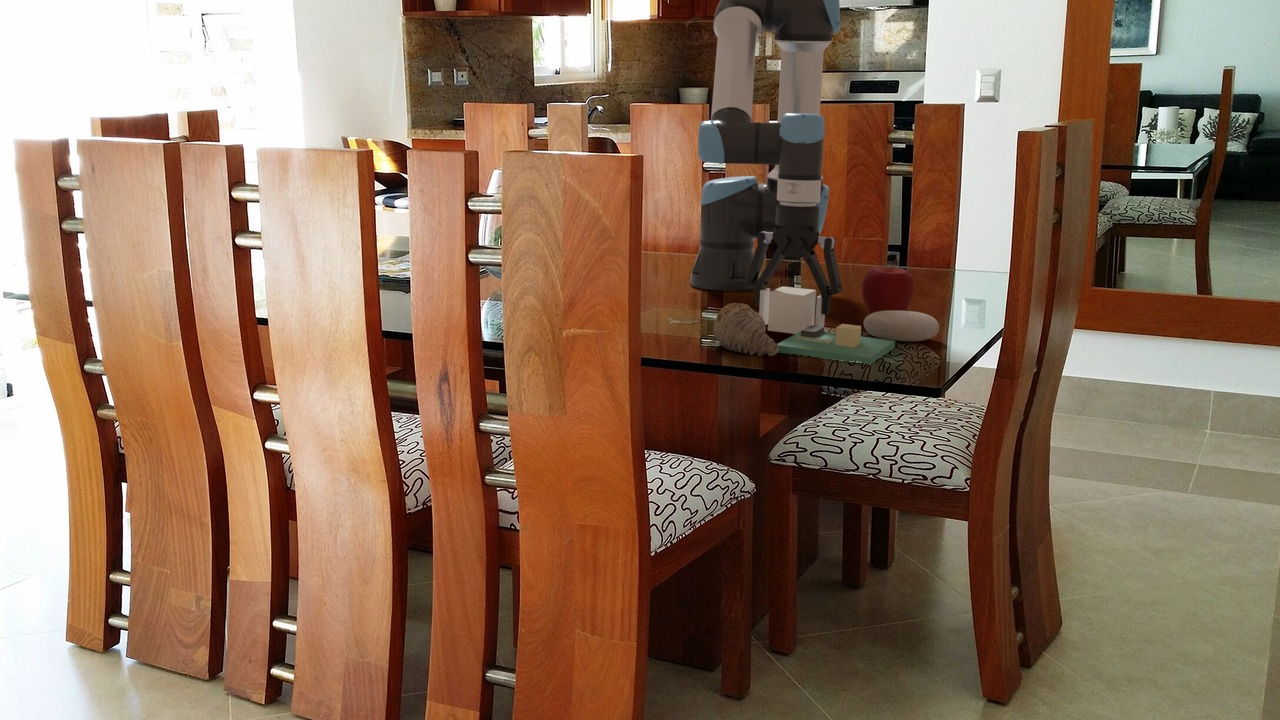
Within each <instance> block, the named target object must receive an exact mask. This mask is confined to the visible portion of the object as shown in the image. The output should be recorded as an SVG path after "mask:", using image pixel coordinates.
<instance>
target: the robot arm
mask: <svg viewBox="0 0 1280 720" xmlns="http://www.w3.org/2000/svg"><path fill="white" fill-rule="evenodd" d="M840 5H841V3H840V0H719V2H718V5H717V6H716V8H715V13H714V17H713V31H714V35H715V36H716V37H717V40H716V41H717V42H716V54H715V55H716V56H715V66H714V67H715V68H714V81H713V92H712V102H711V114H710V115H711V116H710V119H709V120H703V121H701V122H700V123H699V125H698V136H697V154H698V155H697V156H698V159H699V160H700V161H701V162H703V163H709V164H710V163H711V164H719V165H723V164H729V165H730V164H732V165H733V164H734V165H735V164H736V165H744V164H745V165H749V164H750V165H765V166H769V165H771V166H774V168H773V169H772V170H771V171H770V172H769V173H768V174H767V180H766V181H767V182H766V183H758V182H759V181H758V179H757V177H756V176H754V175H749V176H748V175H746V176H745V175H743V176H730V177H722V178H717V179H716V178H715V179H712V180H709V181H707V182H705V183H704V184H703V186H702V189H701V200H700V202H699V204H700V206H701V209H700V210H701V211H700V226H699V227H700V232H699V249H698V252H697V256H696V258H695V262H694V265H693V266H692V270H691V272H690V279H689V281H690V286H692V287H694V288H698V289H704V290H710V291H719V292H722V291H723V292H725V291H726V292H739V291H740V292H741V291H742V292H743V291H751V290H755V292H754V293H755V294H754V295H755V297H754V305H755V307H758V308H759V309H758V310H759V311H758V313H759V314H760V316H761V317H762V319H763V320H764V322H765V325H768V313H769V294H770V291H771V288H766V287H767V285H768V283H769V281H770V280H771V278H772V277H773V276H774V273H775V272H776V270H777V269H778V268H779V265H780V264H781V262H782V261H783V259H785V257H787V258H788V257H794V258H797V259H798V258H799V259H803V261H804V262H805V263H806V265H807V266H808V269H809V270H810V273H811V275H812V277H813V279H814V281H815V284H816V286H817V288H818V290H819V293H820V295H816V303H815V319H814V326H821V327H824V328H825V319H826V316H825V315H828V314H830V312H831V305H832V304H831V303H832V296H833V295H837V294H839V293H842V292H843V285H842V280H841V276H840V270H839V265H838V261H837V257H836V252H835V247H836V238H835V237H834V236H829V237H827V236H821V233H822V231H823V227H824V223H825V219H826V214H827V210H828V204H829V196H830V188H829V186H828V185H826V184H823V182H824V176H823V175H822V170H823V169H822V167H823V158H824V156H823V154H824V141H825V140H824V139H825V135H826V132H825V131H826V130H825V117H824V116H823V115H822V114H821V98H822V84H823V83H822V81H823V68H824V66H823V65H824V52H825V49H827V48H828V47H829V46H830V45H831V44H832V42H833V34H837V33H840V31H841V8H840V7H841V6H840ZM762 32H773V33H774V34H773V35H774V40H773V41H774V43H776V45H777V46H778V48H779V49H780V68H779V72H780V73H779V88H778V102H777V103H778V107H777V122H760V121H757V122H756V121H755V122H754V121H753V120H752V117H753V101H754V99H753V98H754V83H755V81H754V80H755V65H756V63H755V62H756V50H757V49H756V46H757V39H758V38H759V37H760V35H761V34H762ZM755 239H757V240H756V241H757V246H756V248H755V247H754V246H755V245H754V244H755ZM772 240H773V241H774V243H775V245H776V246H777V248H776V249H775V251H774V252H773V253H772V254H773V255H772V257H771V259H770V260H769V262H768V263H767V265H766V267H764V270H763V271H762V273H761V274H760V272H761V270H762V267H763V264H764V262H765V261H764V260H765V258H766V255H767V252H768V248H769V244H771V243H772ZM818 244H819V245H820V248H821V249H822V250H823V251H822V252H823V257H824V258H823V259H824V262H825V267H826V268H825V269H826V273H827V277H826V274H825V272H824V271H823V268H822V266H821V263H820V261H819V259H818V255H817V252H816V251H815V248H816V247H817V245H818ZM754 248H755V251H754ZM827 278H828V279H827Z"/></svg>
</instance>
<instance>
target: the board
mask: <svg viewBox="0 0 1280 720" xmlns="http://www.w3.org/2000/svg"><path fill="white" fill-rule="evenodd" d="M861 333H862V326H861V325H856V324H849V323H848V324H847V323H846V324H845V323H842V324H839V325H837V326H836V330H835V332H827V331H825V326H824V327H821V326H815V325H814V326H813V325H811V326H809V327H807V328H805V329H803V330H801V332H799V333H797V334H792V335H791V336H789V337H787V338H786V339H784V340H781V341H780V342H778V343H777V344H778V345H779V350H778V352H777V353H778V354H779V353H780V354H786V355H787V354H788V355H793V354H796V355H795V356H800V355H803V356H802V357H807V356H811V357H810V358H815V357H821V358H820V359H822V358H828V359H827V360H829V359H837V360H844V361H859V362H862V363H865V364H868V365H867V366H871V365H872V363H873V364H874V363H875V362H877V361H878V360H879V358H880V357H881V358H883V357H884V356H886V354H888V353H889V352H891V351H892V350H893V349H895V347H896V341H893V340H887V339H882V338H877V337H866V336H862V335H861ZM883 355H884V356H883ZM881 358H880V359H881ZM877 359H878V360H877ZM876 360H877V361H876ZM865 364H864V365H865Z"/></svg>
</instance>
